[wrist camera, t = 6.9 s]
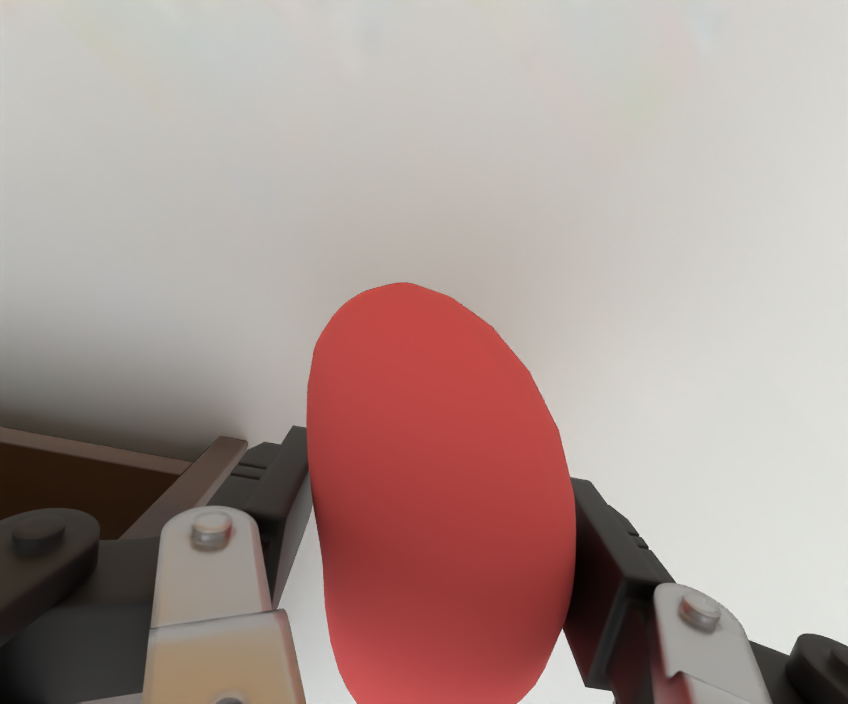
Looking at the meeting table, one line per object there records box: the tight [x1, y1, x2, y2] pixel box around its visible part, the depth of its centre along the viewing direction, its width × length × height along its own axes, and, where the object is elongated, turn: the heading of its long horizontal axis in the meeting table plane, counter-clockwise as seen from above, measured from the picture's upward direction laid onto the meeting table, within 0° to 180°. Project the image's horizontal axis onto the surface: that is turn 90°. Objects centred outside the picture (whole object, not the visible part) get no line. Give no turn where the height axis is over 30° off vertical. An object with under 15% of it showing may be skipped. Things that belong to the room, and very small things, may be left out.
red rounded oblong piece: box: [307, 282, 576, 704], centre depth 10 cm, size 5×9×6 cm, turn 172°
